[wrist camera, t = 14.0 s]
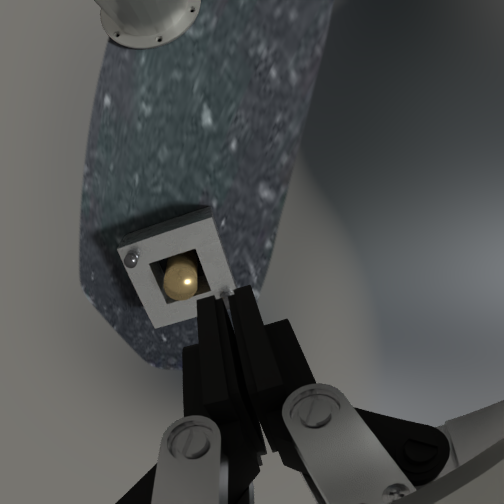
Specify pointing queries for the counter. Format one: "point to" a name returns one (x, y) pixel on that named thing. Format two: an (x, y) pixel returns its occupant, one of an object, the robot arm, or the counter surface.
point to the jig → (169, 244)
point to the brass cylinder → (181, 276)
